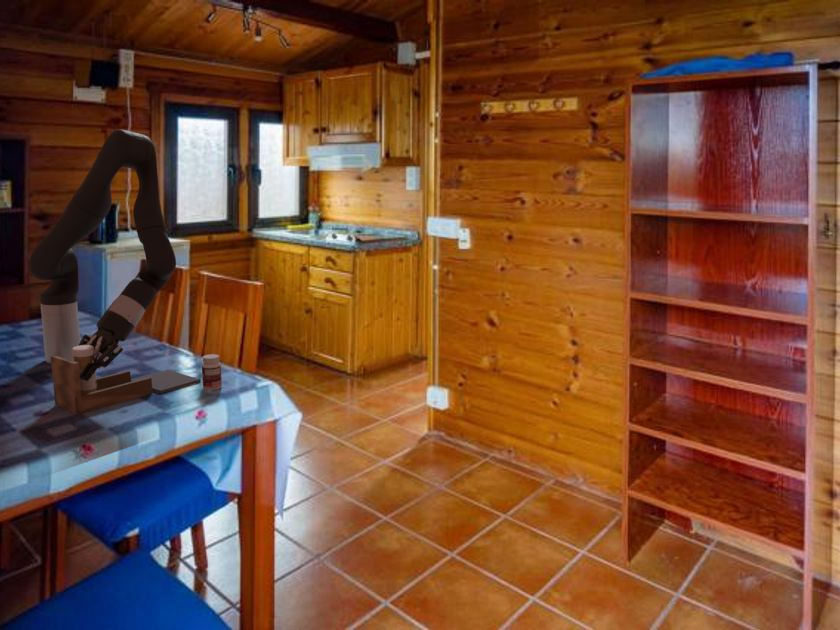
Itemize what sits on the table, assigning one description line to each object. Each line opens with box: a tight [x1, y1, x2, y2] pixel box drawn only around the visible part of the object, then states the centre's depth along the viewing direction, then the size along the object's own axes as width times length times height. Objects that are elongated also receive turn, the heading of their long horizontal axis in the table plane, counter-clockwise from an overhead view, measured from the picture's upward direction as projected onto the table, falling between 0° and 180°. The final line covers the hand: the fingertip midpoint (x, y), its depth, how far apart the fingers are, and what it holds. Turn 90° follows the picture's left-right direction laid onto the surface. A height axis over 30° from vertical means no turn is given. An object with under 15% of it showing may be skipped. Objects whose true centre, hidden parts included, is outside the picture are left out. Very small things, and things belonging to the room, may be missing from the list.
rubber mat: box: [131, 369, 202, 394], centre depth 176 cm, size 14×12×1 cm
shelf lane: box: [50, 355, 153, 415], centre depth 162 cm, size 10×19×12 cm, turn 146°
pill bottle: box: [201, 353, 223, 391], centre depth 172 cm, size 5×5×8 cm
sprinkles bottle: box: [72, 345, 97, 395], centre depth 158 cm, size 5×5×14 cm
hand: (77, 376), depth 156 cm, fingers closed on sprinkles bottle, 4 cm apart
